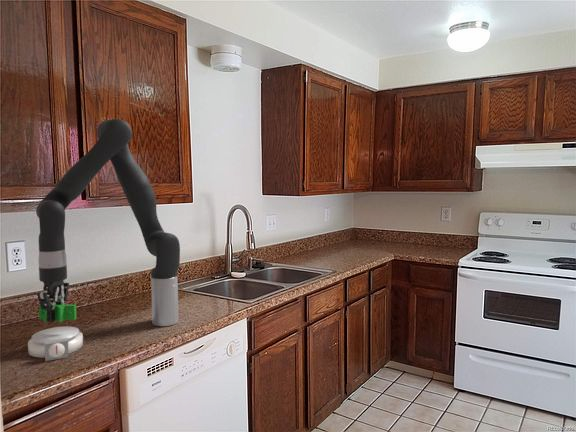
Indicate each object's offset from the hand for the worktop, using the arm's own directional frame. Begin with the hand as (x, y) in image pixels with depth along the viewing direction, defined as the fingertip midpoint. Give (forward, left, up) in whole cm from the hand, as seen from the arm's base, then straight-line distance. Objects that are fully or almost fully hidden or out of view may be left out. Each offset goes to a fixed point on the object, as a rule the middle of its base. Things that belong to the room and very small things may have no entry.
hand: (55, 319), depth 133 cm
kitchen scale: (+1, +1, -9) cm, 9 cm away
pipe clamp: (0, 0, -1) cm, 1 cm away
